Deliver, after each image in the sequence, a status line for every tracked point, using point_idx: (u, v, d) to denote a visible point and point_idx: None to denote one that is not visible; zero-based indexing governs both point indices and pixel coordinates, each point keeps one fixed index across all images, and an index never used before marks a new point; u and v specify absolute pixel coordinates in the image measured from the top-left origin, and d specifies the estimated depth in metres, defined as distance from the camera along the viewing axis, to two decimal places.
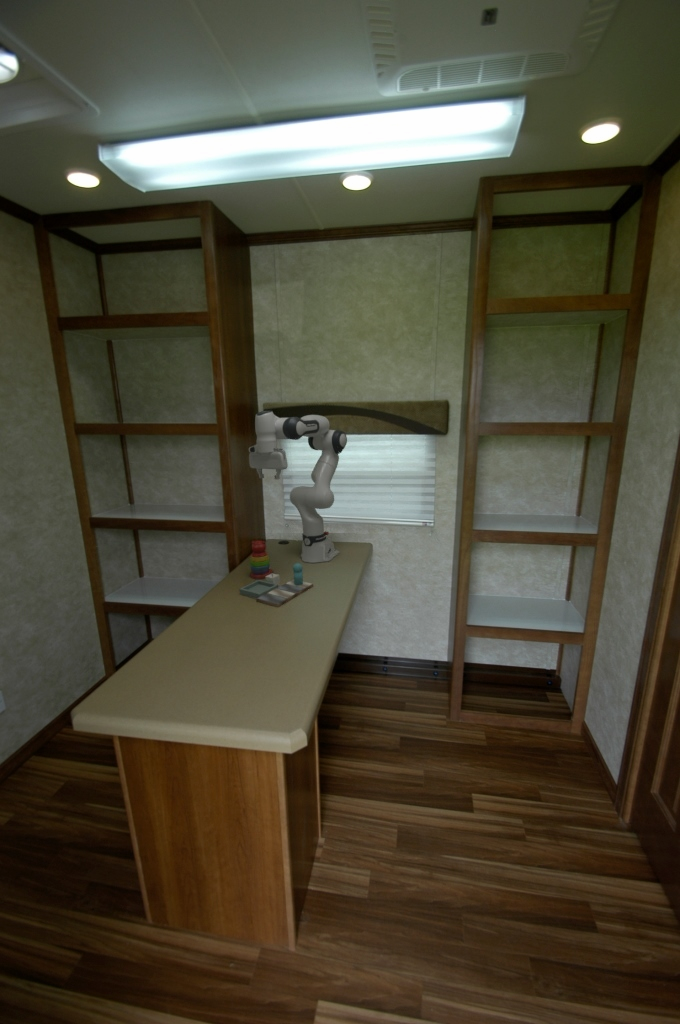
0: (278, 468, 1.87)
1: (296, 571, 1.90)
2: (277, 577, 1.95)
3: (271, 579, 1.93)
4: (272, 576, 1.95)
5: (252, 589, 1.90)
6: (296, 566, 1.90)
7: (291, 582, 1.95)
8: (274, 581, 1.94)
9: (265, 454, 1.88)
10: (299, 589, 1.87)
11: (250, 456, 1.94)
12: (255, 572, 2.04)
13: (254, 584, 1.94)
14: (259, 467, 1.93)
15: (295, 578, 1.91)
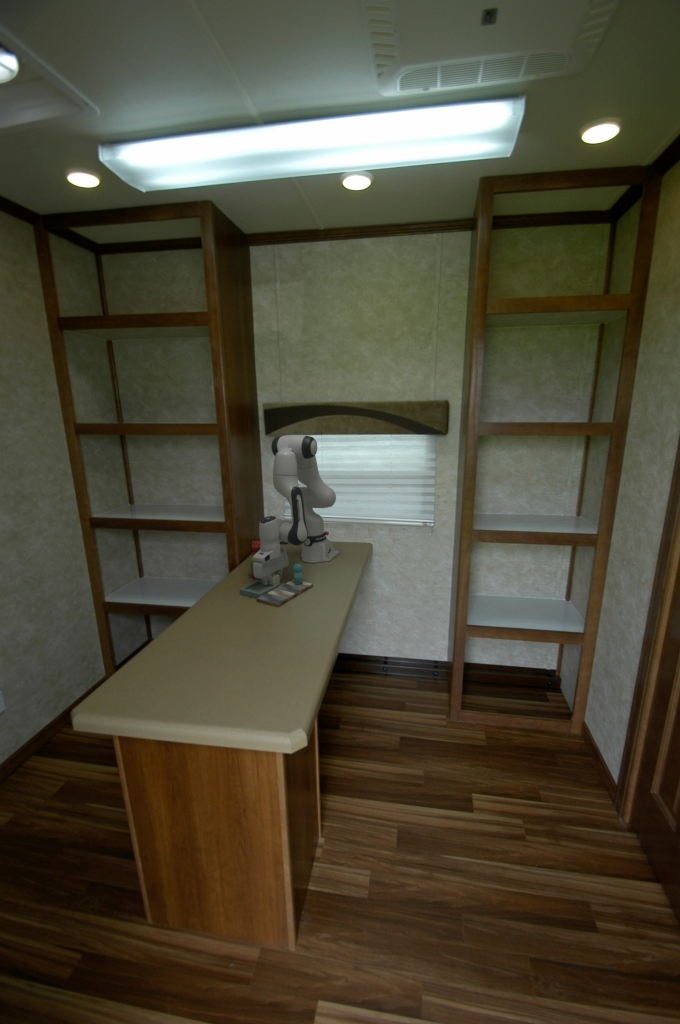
0: (285, 565, 2.00)
1: (296, 571, 1.90)
2: (277, 577, 1.95)
3: (271, 579, 1.93)
4: (272, 576, 1.95)
5: (252, 589, 1.90)
6: (296, 566, 1.90)
7: (291, 582, 1.95)
8: (274, 581, 1.94)
9: (277, 557, 1.93)
10: (299, 589, 1.87)
11: (262, 566, 1.86)
12: None
13: (254, 584, 1.94)
14: (269, 573, 1.91)
15: (295, 578, 1.91)
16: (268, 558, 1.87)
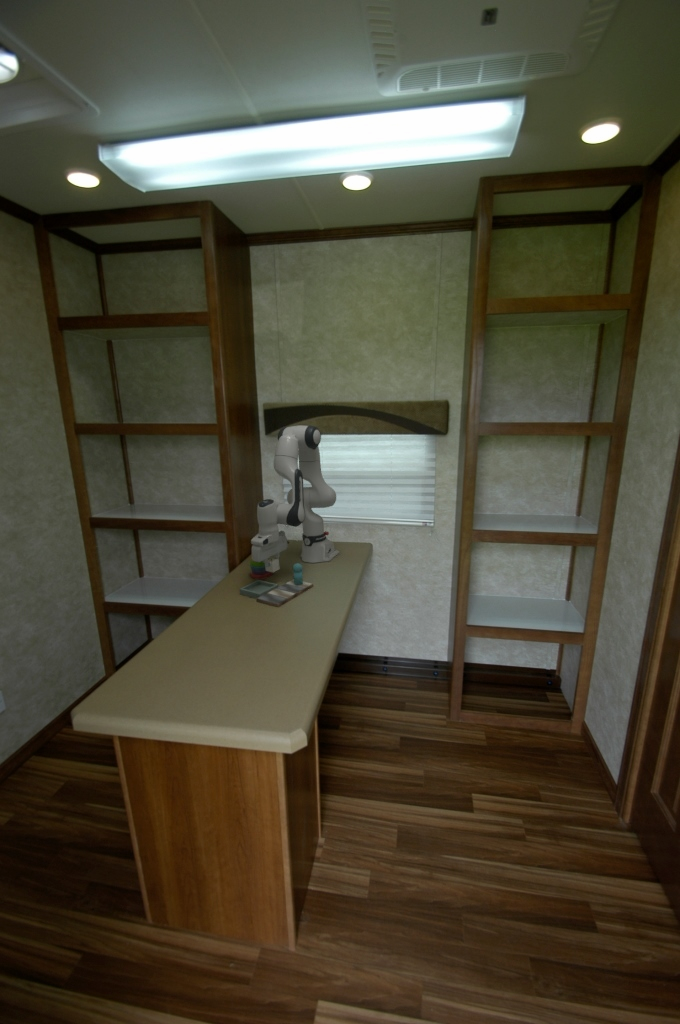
0: (284, 549, 1.99)
1: (296, 571, 1.90)
2: (276, 562, 1.95)
3: (270, 564, 1.93)
4: (271, 561, 1.94)
5: (252, 589, 1.90)
6: (296, 566, 1.90)
7: (291, 582, 1.95)
8: (274, 566, 1.93)
9: (276, 541, 1.92)
10: (299, 589, 1.87)
11: (260, 550, 1.85)
12: (255, 572, 2.04)
13: (254, 584, 1.94)
14: (267, 557, 1.90)
15: (295, 578, 1.91)
16: (266, 542, 1.86)
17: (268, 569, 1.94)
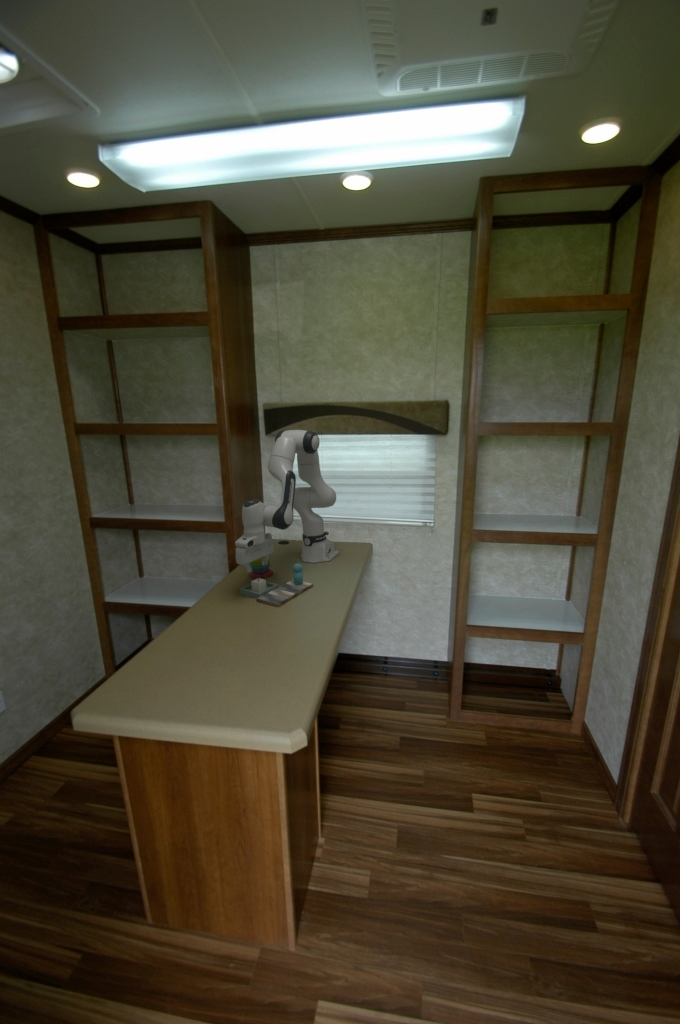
0: (270, 552, 1.91)
1: (296, 571, 1.90)
2: (263, 582, 1.88)
3: (257, 584, 1.86)
4: (258, 581, 1.87)
5: None
6: (296, 566, 1.90)
7: (291, 582, 1.95)
8: (260, 586, 1.86)
9: (262, 543, 1.84)
10: (299, 589, 1.87)
11: (245, 552, 1.77)
12: (255, 572, 2.04)
13: None
14: (252, 560, 1.82)
15: (295, 578, 1.91)
16: (251, 543, 1.78)
17: (254, 589, 1.87)
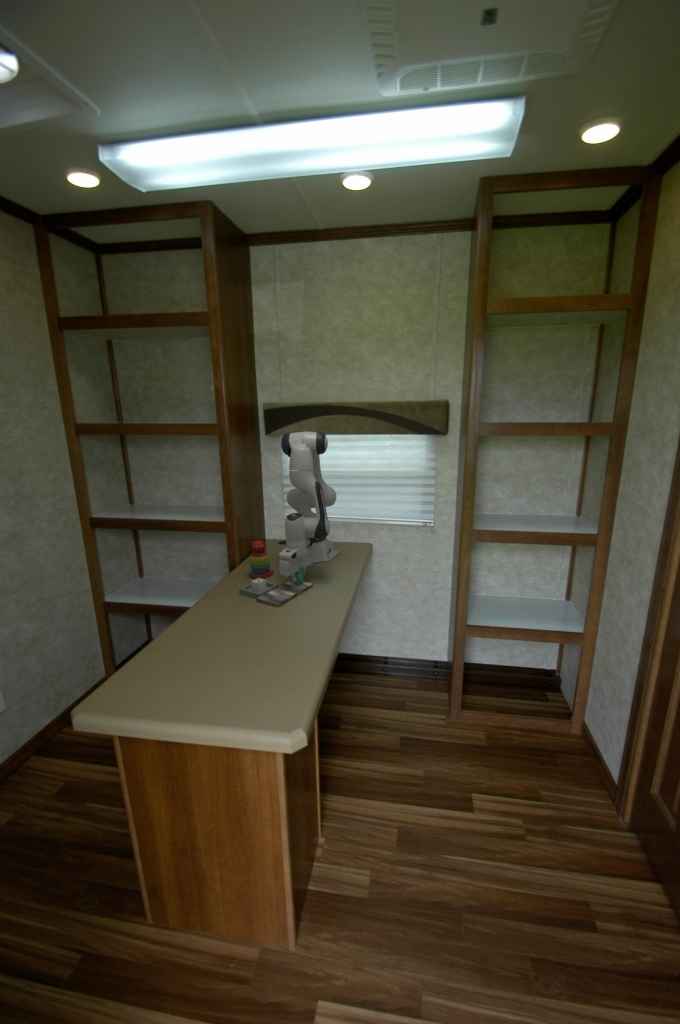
0: (310, 563, 1.97)
1: None
2: (263, 582, 1.88)
3: (257, 584, 1.86)
4: (258, 581, 1.87)
5: None
6: None
7: (291, 582, 1.95)
8: (260, 586, 1.86)
9: (303, 555, 1.90)
10: (299, 589, 1.87)
11: (289, 564, 1.82)
12: (255, 572, 2.04)
13: None
14: (295, 571, 1.87)
15: None
16: (295, 556, 1.84)
17: (254, 589, 1.87)
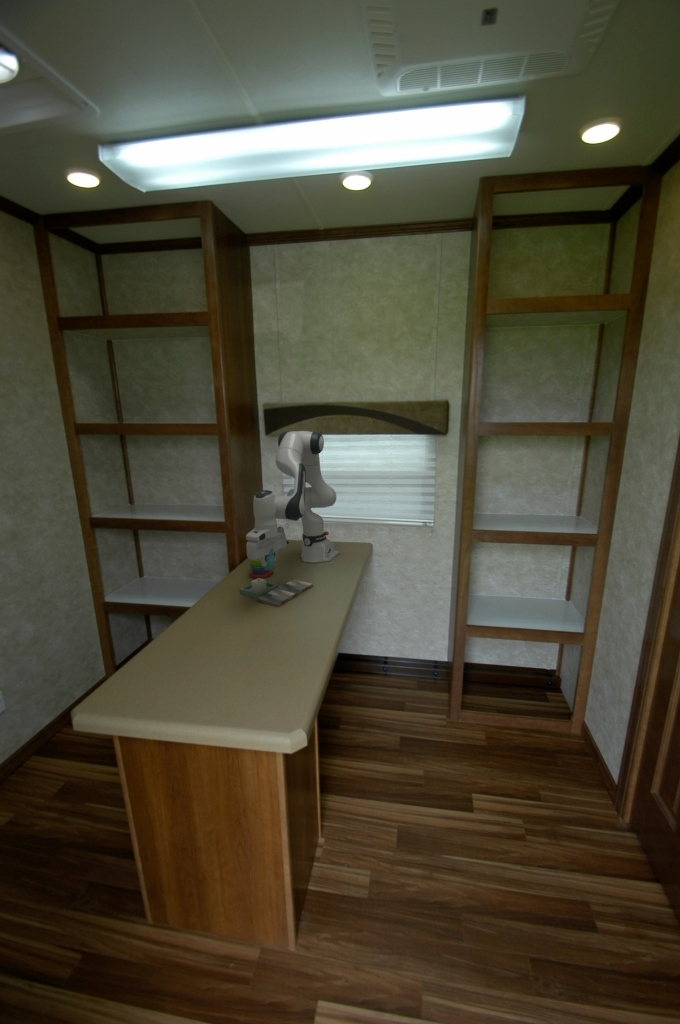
0: (283, 547, 1.79)
1: None
2: (263, 582, 1.88)
3: (257, 584, 1.86)
4: (258, 581, 1.87)
5: None
6: None
7: (291, 582, 1.95)
8: (260, 586, 1.86)
9: (274, 537, 1.72)
10: (299, 589, 1.87)
11: (256, 546, 1.65)
12: (255, 572, 2.04)
13: None
14: (264, 554, 1.70)
15: None
16: (263, 537, 1.66)
17: (254, 589, 1.87)
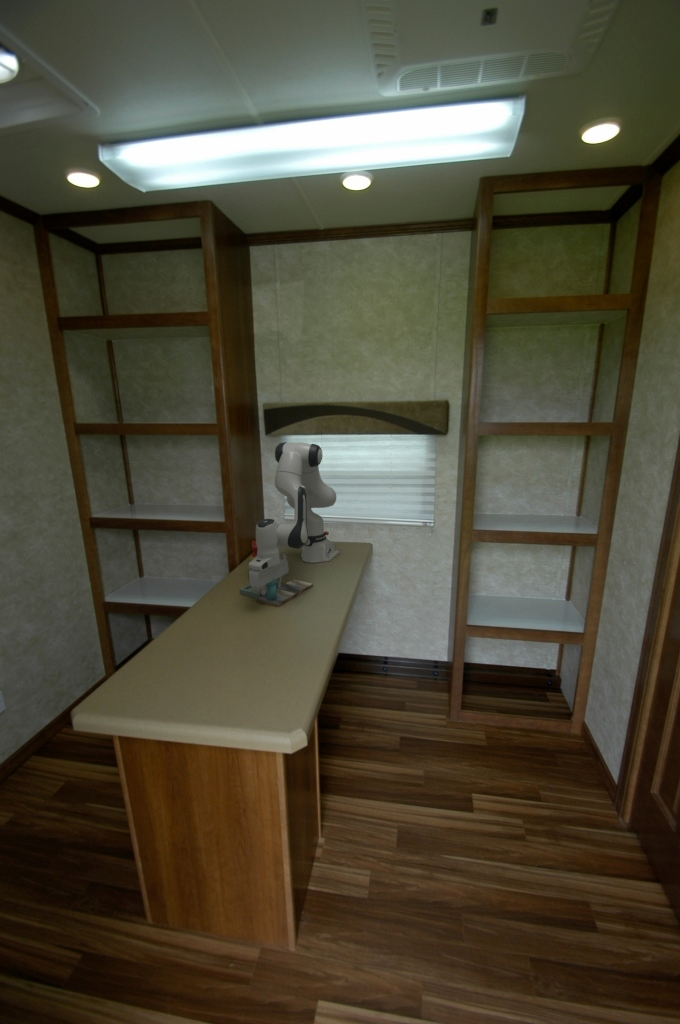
0: (285, 573, 1.82)
1: (269, 585, 1.75)
2: None
3: None
4: None
5: None
6: None
7: (291, 582, 1.95)
8: None
9: (276, 564, 1.75)
10: (299, 589, 1.87)
11: (259, 575, 1.67)
12: None
13: None
14: (266, 582, 1.72)
15: (268, 592, 1.76)
16: (266, 566, 1.69)
17: (254, 589, 1.87)
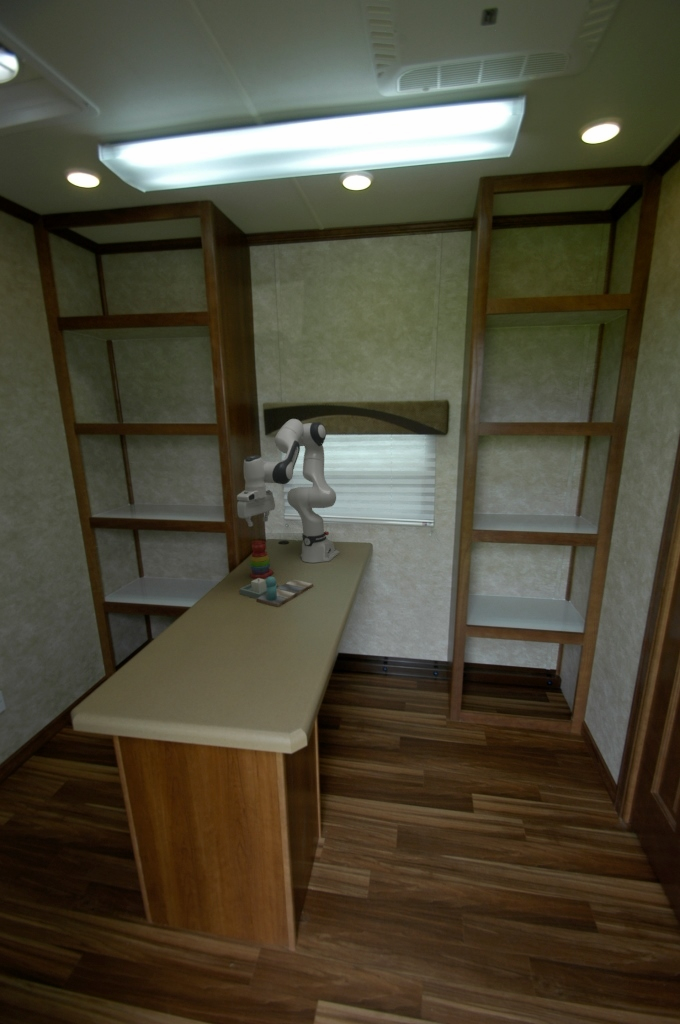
0: (271, 509, 1.94)
1: (269, 585, 1.75)
2: (263, 582, 1.88)
3: (257, 584, 1.86)
4: (258, 581, 1.87)
5: None
6: (269, 580, 1.75)
7: (291, 582, 1.95)
8: (260, 586, 1.86)
9: (263, 498, 1.88)
10: (299, 589, 1.87)
11: (246, 505, 1.80)
12: (255, 572, 2.04)
13: None
14: (254, 514, 1.85)
15: (268, 593, 1.76)
16: (253, 497, 1.82)
17: (254, 589, 1.87)
